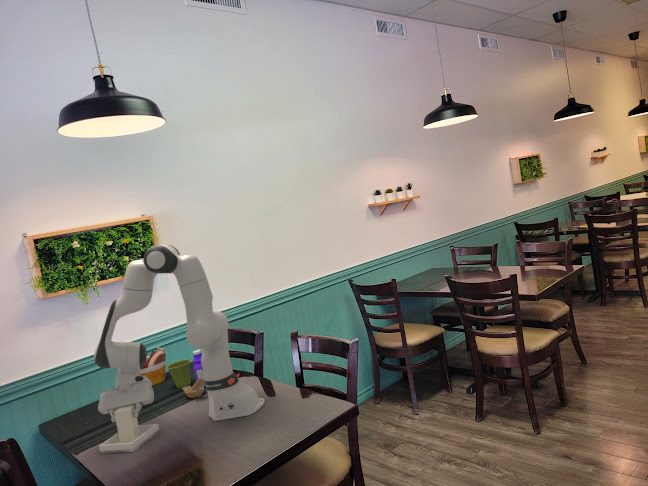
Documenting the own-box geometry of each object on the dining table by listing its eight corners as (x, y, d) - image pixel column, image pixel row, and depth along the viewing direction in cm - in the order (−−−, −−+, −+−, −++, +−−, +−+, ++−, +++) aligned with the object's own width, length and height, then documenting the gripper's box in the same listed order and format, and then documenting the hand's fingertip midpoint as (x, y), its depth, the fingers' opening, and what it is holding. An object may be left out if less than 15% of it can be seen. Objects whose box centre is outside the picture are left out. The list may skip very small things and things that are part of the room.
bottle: (207, 388, 230) (198, 352, 229) (196, 389, 231) (188, 354, 230) (213, 382, 237) (205, 347, 236) (203, 383, 238) (195, 349, 237)
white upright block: (140, 434, 185) (134, 404, 184) (135, 441, 180) (129, 409, 179) (125, 437, 185) (119, 407, 184) (120, 444, 179) (114, 412, 179)
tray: (159, 431, 187) (158, 423, 187) (133, 451, 173) (131, 443, 173) (128, 433, 192) (126, 426, 192) (100, 453, 177) (98, 445, 177)
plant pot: (171, 385, 246) (166, 364, 246) (195, 378, 250) (190, 357, 249) (171, 392, 235) (166, 370, 234) (196, 385, 238) (190, 362, 238)
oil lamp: (195, 403, 211) (190, 381, 210) (177, 396, 227) (172, 375, 227) (213, 395, 216) (208, 374, 216) (194, 389, 233) (189, 368, 232)
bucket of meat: (163, 375, 272) (154, 340, 270) (178, 377, 260) (169, 341, 259) (128, 389, 257) (120, 352, 256) (143, 392, 246) (134, 354, 245)
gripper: (97, 387, 188) (92, 422, 178) (150, 375, 188) (148, 409, 179) (104, 394, 192) (100, 428, 183) (156, 382, 193) (154, 416, 184)
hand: (124, 418), depth 181 cm, fingers open, 6 cm apart
